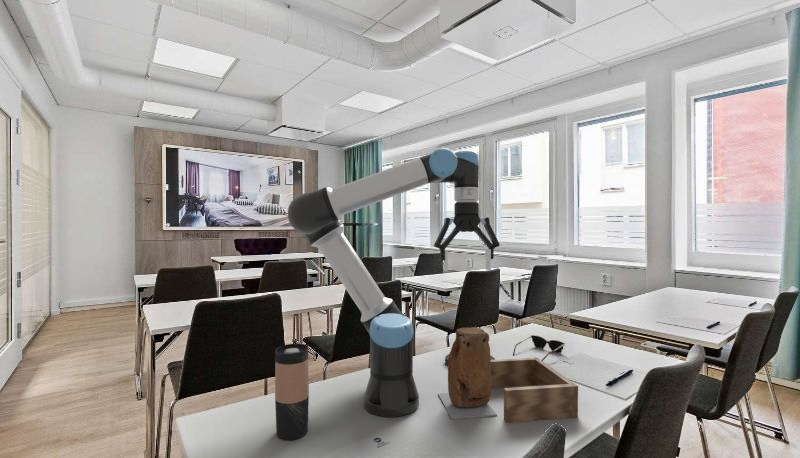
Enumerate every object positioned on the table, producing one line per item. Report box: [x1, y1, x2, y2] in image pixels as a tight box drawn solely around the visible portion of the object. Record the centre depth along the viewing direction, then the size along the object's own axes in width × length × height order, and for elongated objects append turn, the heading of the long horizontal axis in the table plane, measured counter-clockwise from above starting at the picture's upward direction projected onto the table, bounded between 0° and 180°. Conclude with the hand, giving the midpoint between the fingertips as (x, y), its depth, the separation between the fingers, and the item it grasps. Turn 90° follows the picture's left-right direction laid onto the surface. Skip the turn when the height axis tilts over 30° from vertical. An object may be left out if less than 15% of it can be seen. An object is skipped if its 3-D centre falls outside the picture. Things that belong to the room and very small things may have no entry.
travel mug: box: [274, 343, 310, 442], centre depth 91 cm, size 8×8×20 cm
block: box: [447, 326, 492, 407], centre depth 105 cm, size 11×8×20 cm
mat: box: [437, 392, 498, 420], centre depth 105 cm, size 12×14×1 cm
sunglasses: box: [512, 335, 566, 362], centre depth 146 cm, size 14×16×5 cm
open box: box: [490, 357, 579, 424], centre depth 108 cm, size 19×21×8 cm
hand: (467, 270), depth 120 cm, fingers open, 13 cm apart
